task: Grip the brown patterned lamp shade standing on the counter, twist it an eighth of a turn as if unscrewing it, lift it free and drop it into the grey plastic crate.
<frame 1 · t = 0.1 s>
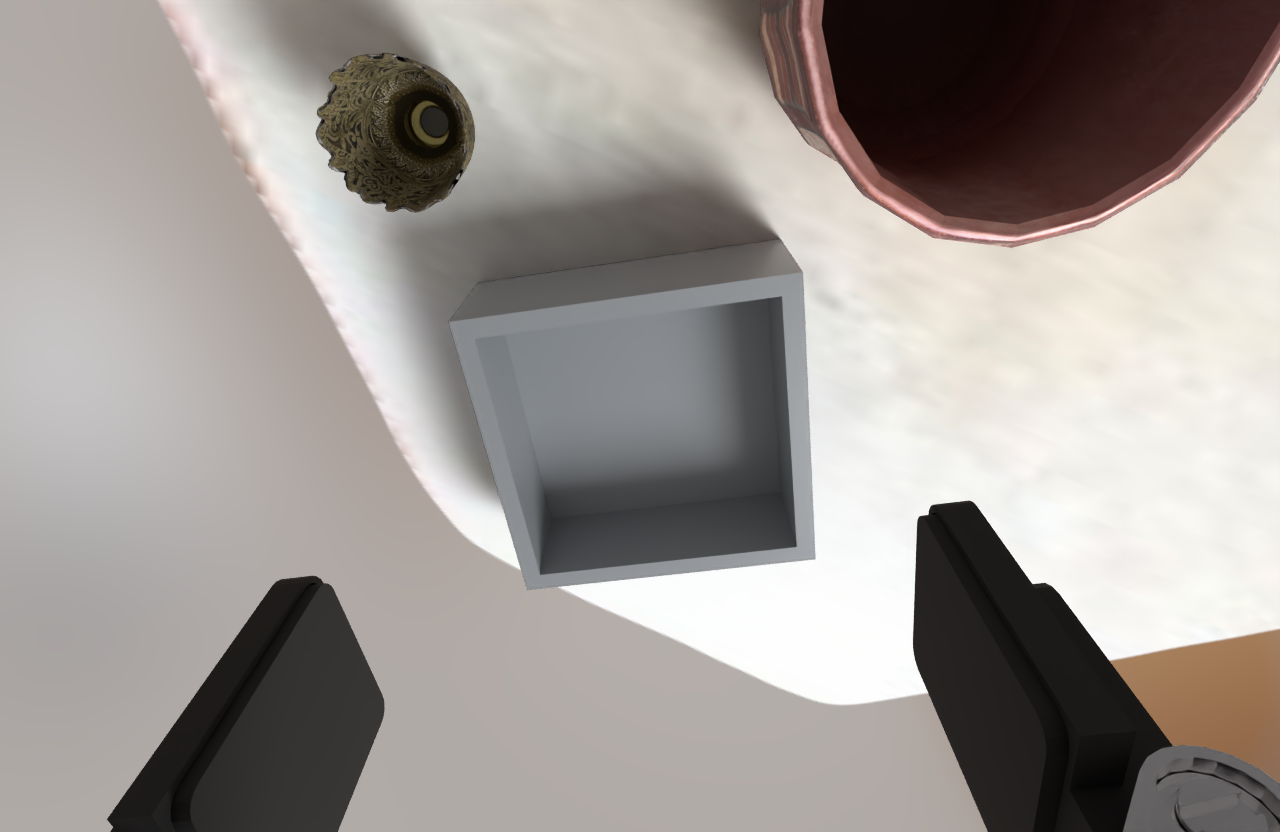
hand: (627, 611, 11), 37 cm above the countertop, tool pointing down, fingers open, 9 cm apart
crate: (648, 397, 50), on the countertop
pottery: (894, 5, 39), on the countertop
brown patterned lamp shade: (435, 121, 42), on the countertop
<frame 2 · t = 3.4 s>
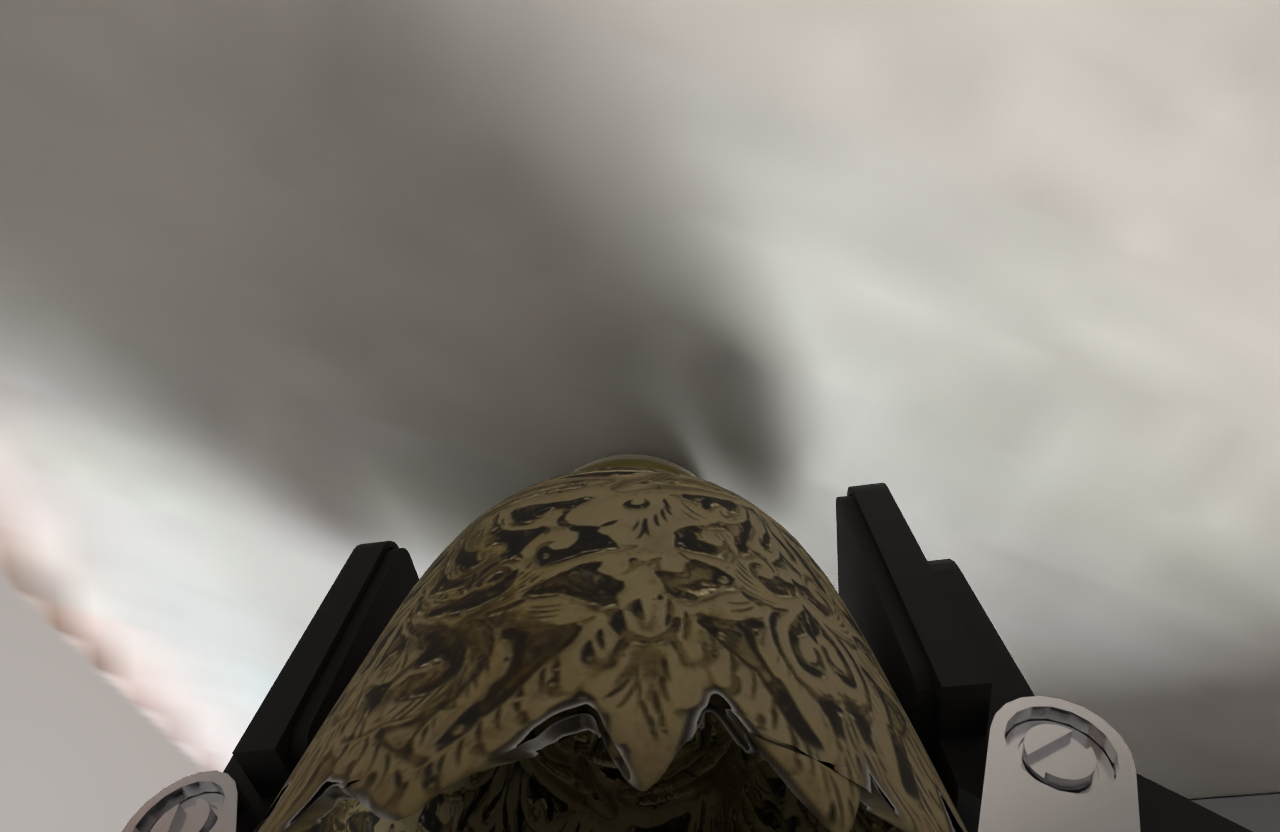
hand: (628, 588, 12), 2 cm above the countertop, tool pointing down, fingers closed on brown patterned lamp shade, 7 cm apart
brown patterned lamp shade: (633, 514, 13), on the countertop, touching gripper
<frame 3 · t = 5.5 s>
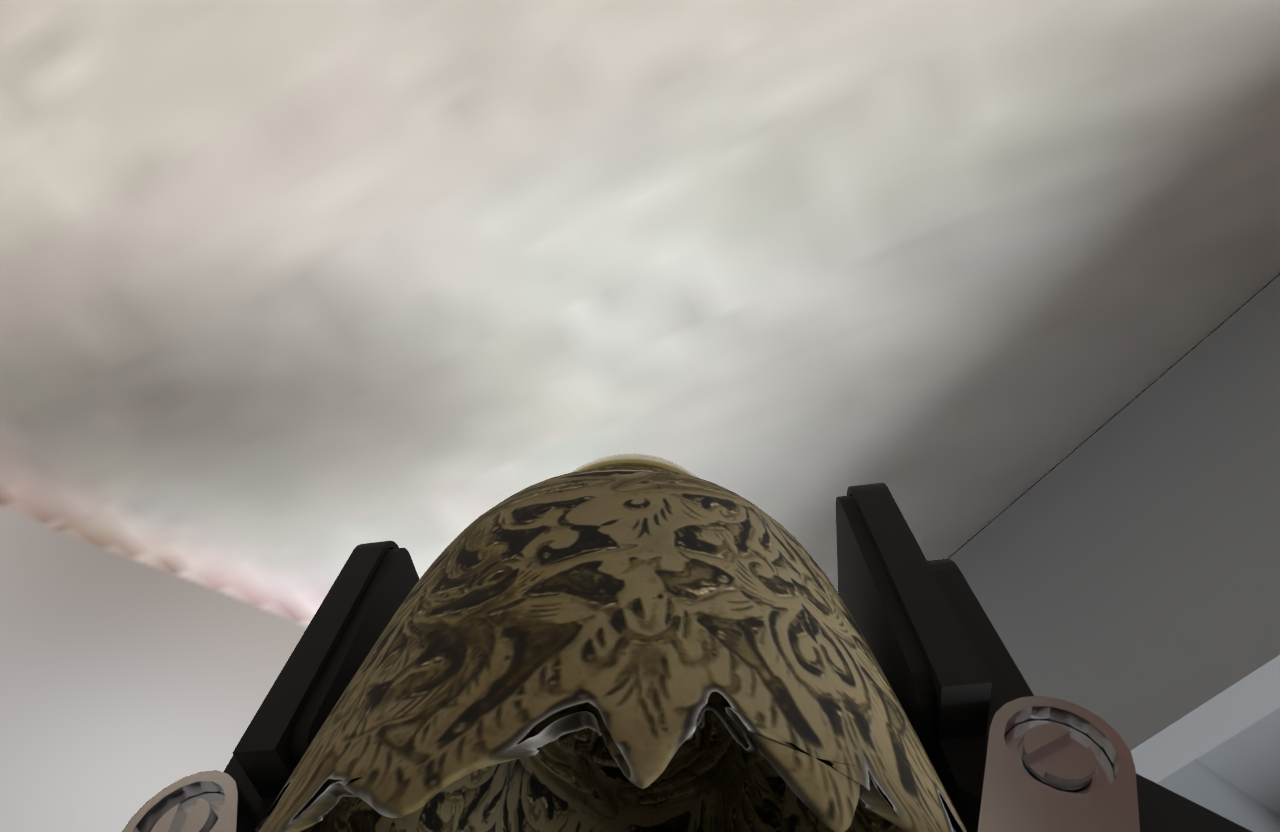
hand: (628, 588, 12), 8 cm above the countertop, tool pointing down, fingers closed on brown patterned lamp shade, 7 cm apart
brown patterned lamp shade: (633, 514, 13), point 6 cm above the countertop, touching gripper
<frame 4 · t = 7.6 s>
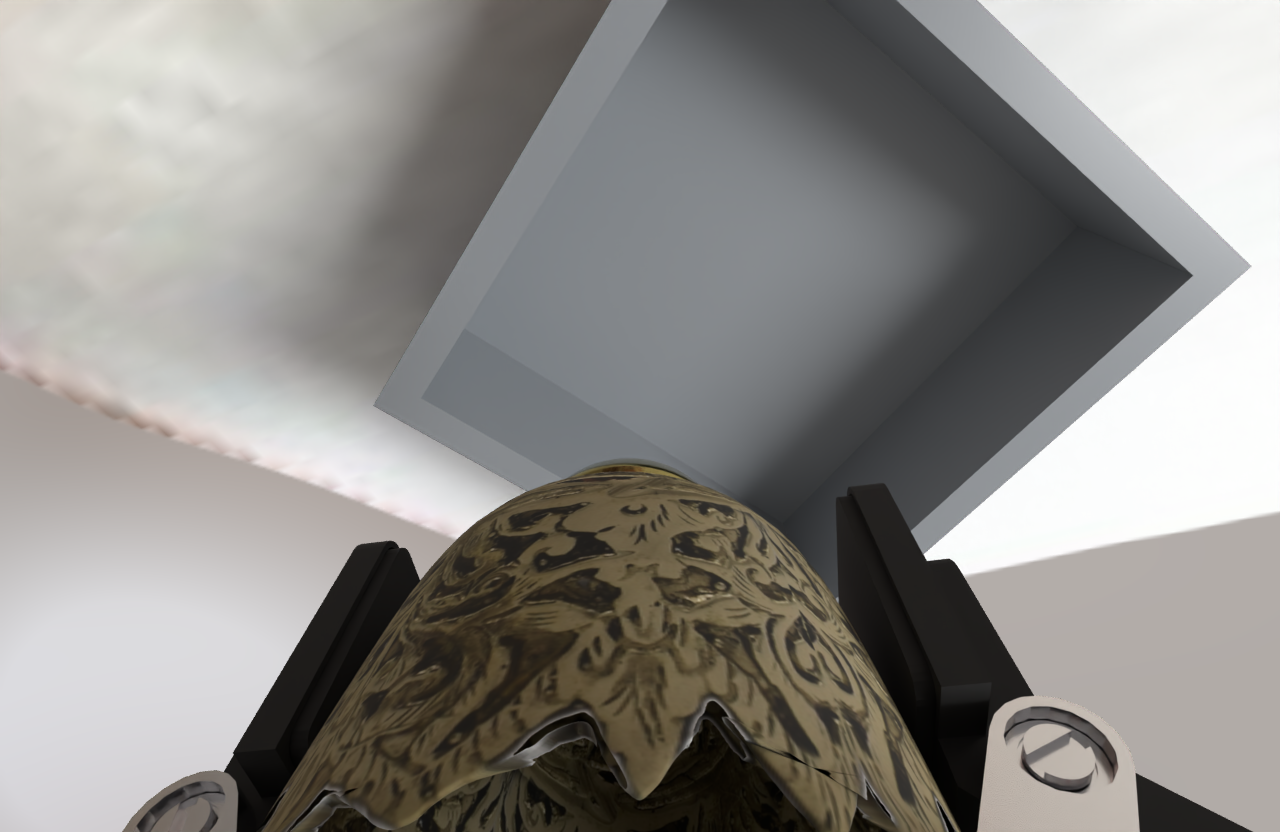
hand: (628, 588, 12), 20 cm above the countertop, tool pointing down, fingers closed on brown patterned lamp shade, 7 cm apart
crate: (756, 272, 29), on the countertop
brown patterned lamp shade: (631, 518, 13), point 18 cm above the countertop, touching gripper
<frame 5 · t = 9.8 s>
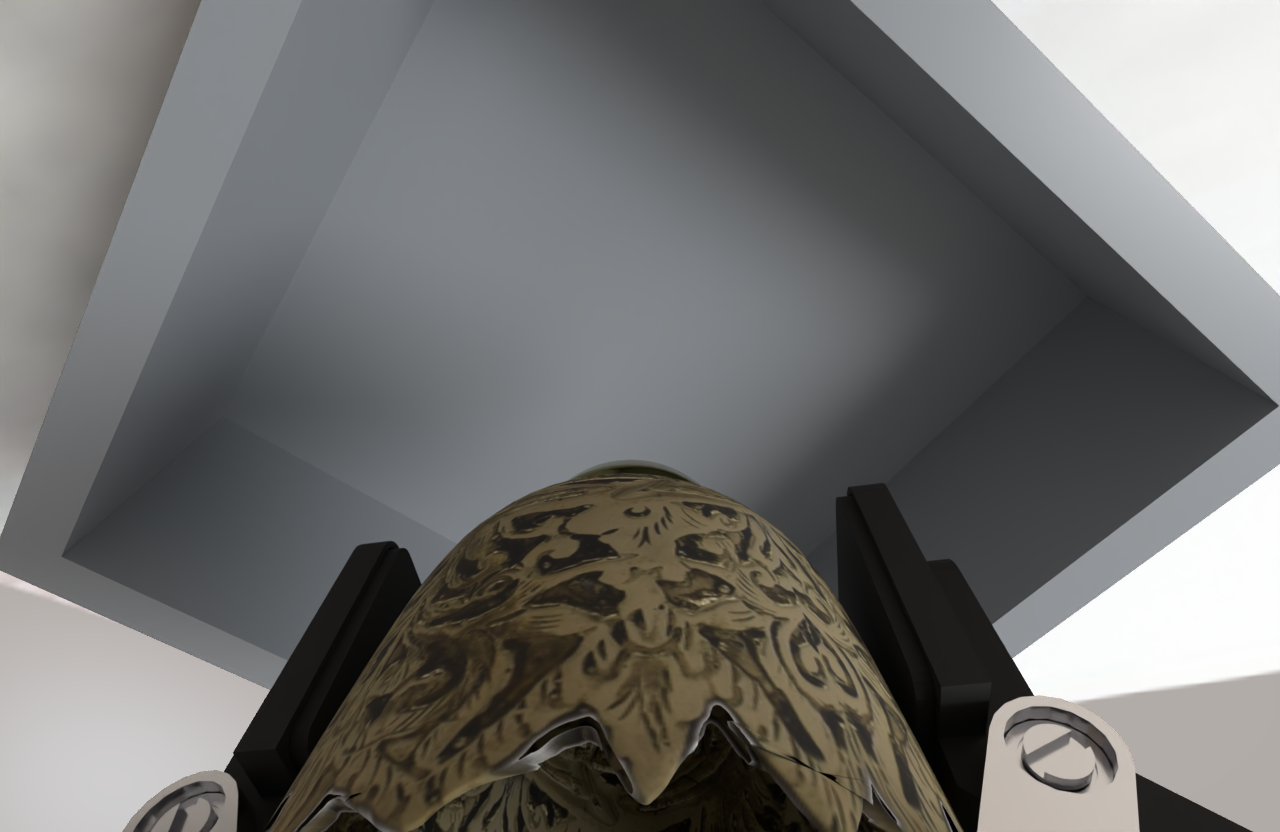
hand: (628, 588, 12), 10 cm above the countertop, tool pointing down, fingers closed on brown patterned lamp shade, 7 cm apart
crate: (633, 346, 21), on the countertop
brown patterned lamp shade: (633, 519, 13), point 8 cm above the countertop, touching gripper
when the fingers open (5 cm above the countertop, at t = 11.8 s): brown patterned lamp shade drops 2 cm, resting on crate.
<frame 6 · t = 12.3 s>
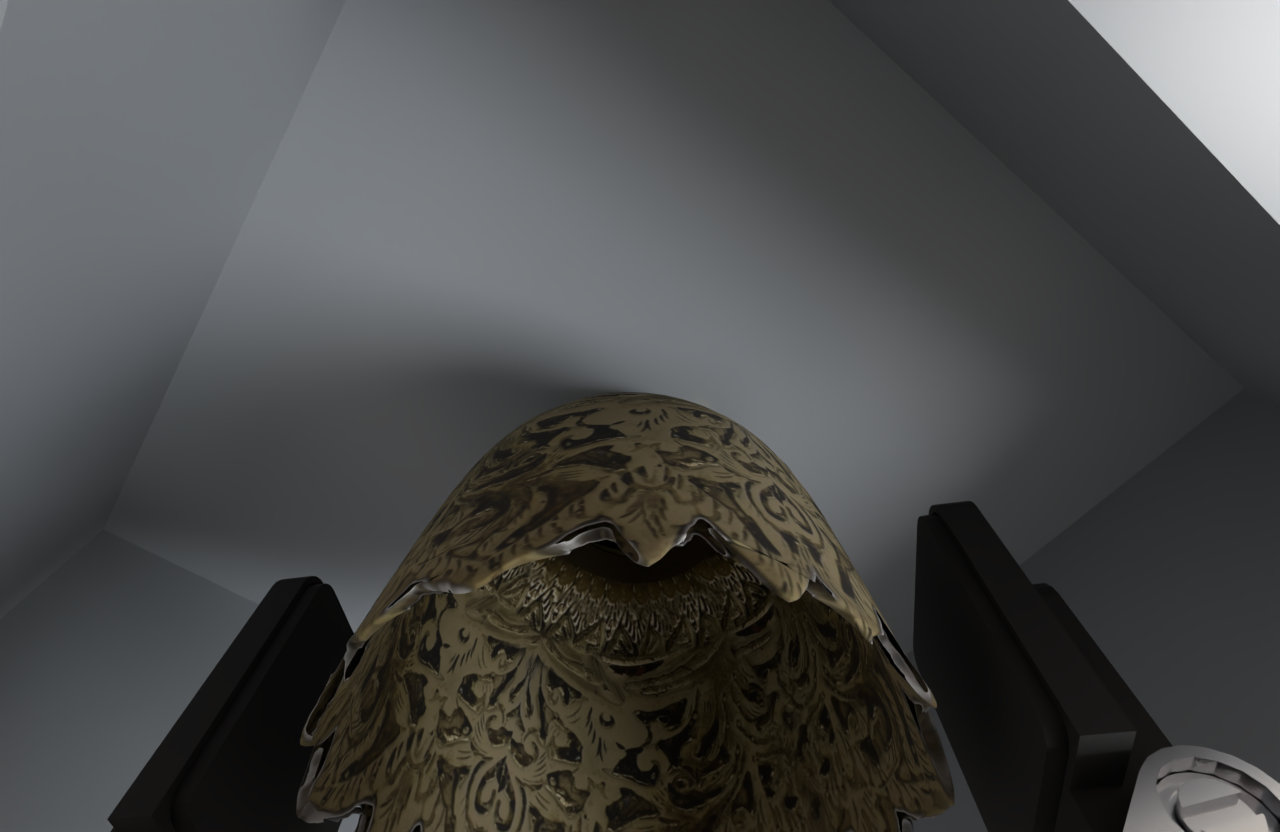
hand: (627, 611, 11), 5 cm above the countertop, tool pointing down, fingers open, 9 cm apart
crate: (635, 440, 16), on the countertop
brown patterned lamp shade: (636, 453, 15), point 1 cm above the countertop, touching crate
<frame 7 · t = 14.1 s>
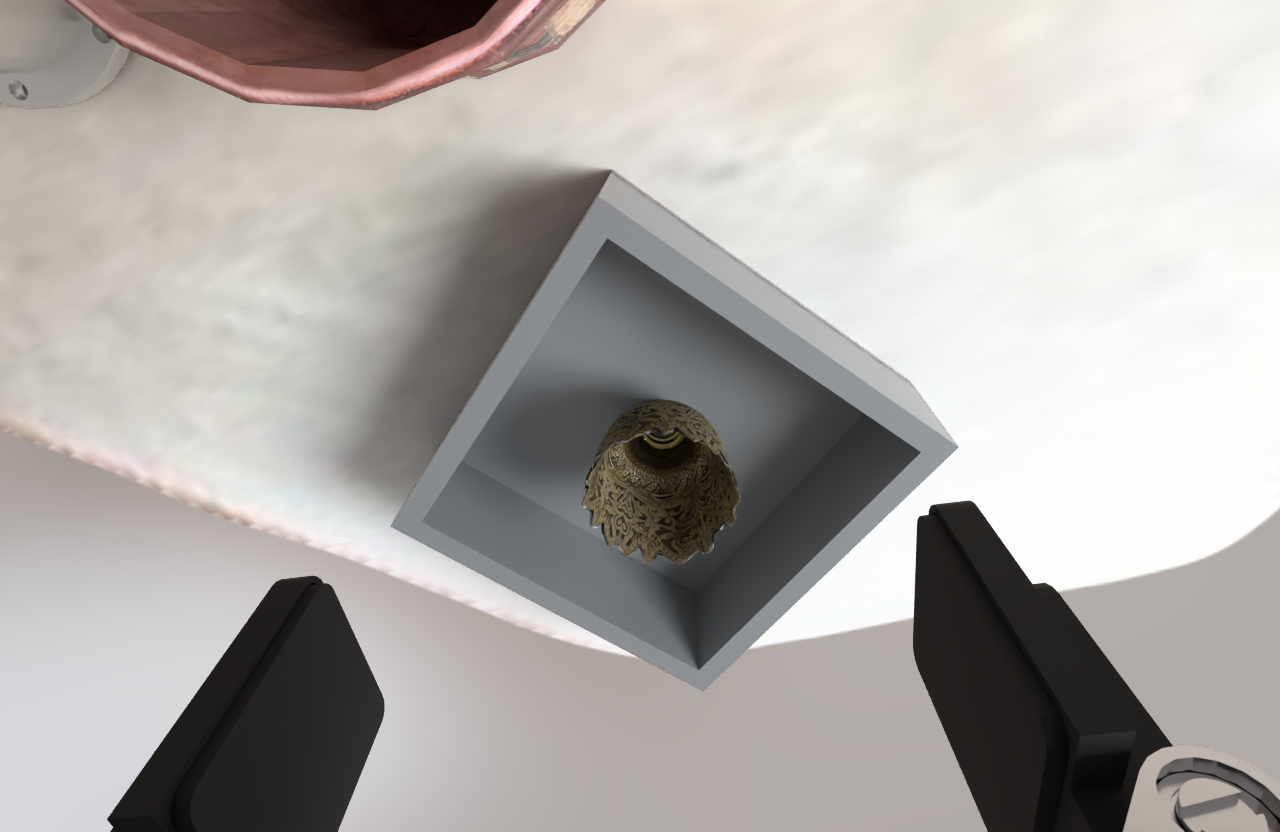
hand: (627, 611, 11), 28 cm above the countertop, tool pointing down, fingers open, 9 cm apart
crate: (662, 418, 41), on the countertop
brown patterned lamp shade: (662, 422, 40), point 1 cm above the countertop, touching crate
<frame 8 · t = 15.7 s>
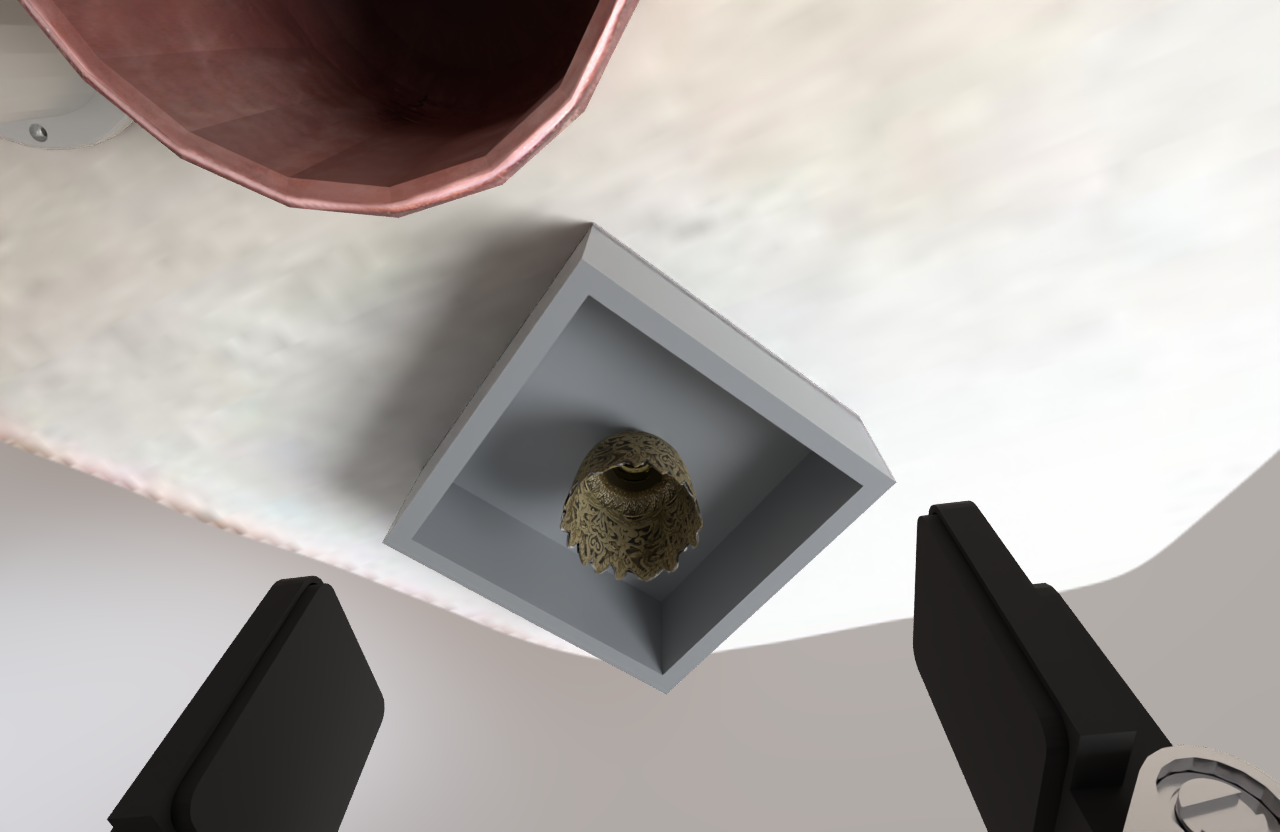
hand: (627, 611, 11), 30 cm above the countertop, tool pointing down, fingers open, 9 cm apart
crate: (634, 444, 45), on the countertop
brown patterned lamp shade: (634, 448, 44), point 1 cm above the countertop, touching crate
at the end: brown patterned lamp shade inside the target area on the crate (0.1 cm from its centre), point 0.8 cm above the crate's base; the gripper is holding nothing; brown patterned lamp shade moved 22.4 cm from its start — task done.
